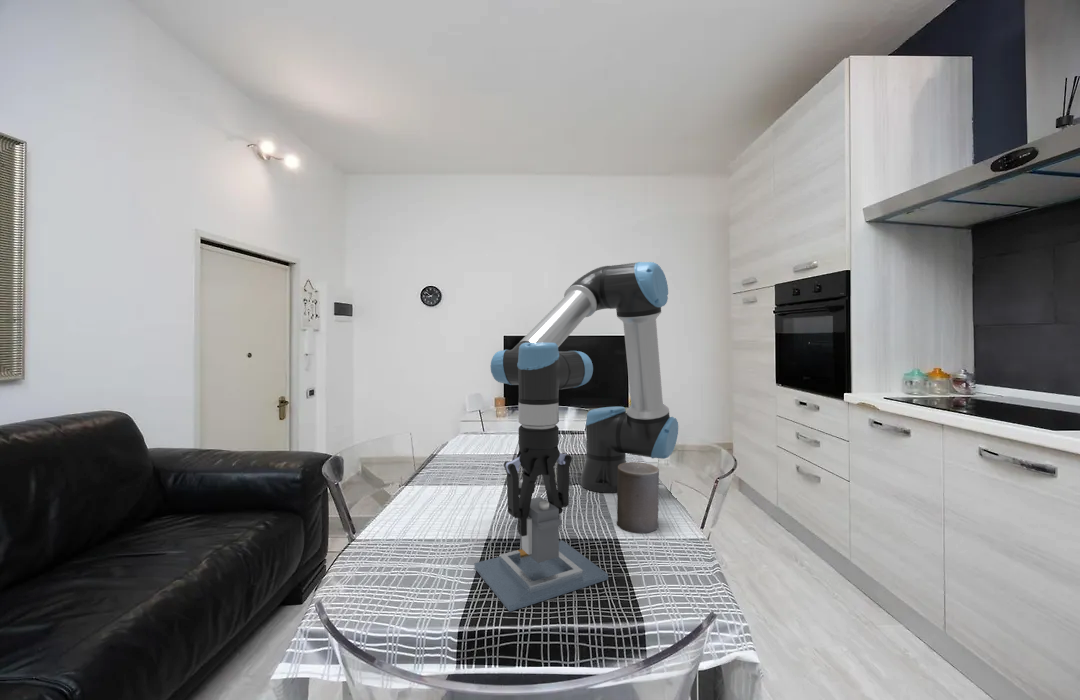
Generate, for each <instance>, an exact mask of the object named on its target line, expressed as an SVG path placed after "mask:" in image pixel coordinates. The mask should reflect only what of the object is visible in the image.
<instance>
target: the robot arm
mask: <svg viewBox="0 0 1080 700" xmlns="http://www.w3.org/2000/svg"><path fill="white" fill-rule="evenodd" d="M668 295H669V287H668V281H667V277H666V275H665V273H664V270H663V269H662V268H661V265H659V264H658V263H656V262H654V261H653V262H652V261H643V262H642V261H638V262H629V263H623V264H622V263H621V264H615V265H613V264H612V265H605V266H600V267H597V268H594V269H592V270H590V271H588V272H586V273H585V274H584V275H582V276H581V277H580V278H577V280H575V281H574V282H573V283H572V284H571V285H570V286H568V288H566V290H565V291H564V295H563V298H562V299H561V300H560V301H559V302H558V303H557V304H556V305H555V306H554V307H553V308H552V309H551V310H550V311H549V312H548V313H547V314H546V315H545V316H544V317H543V318H542V319H541V320H540V321H539V322H538V323H537V324H536V325H535V326H534V327H533V328H532V329H531V330H529V332H528V333H527V334H526V335H525V336H524V337H523V338H522V339H521V340H520V341H519V342H518V343H517V344H516V345H515V346H514V347H513V348H512V349H504V350H499V351H497V352H495V353H494V354H493V356H492V358H491V361H490V373H491V375H492V377H493V379H494V380H495V381H496V382H498V383H500V384H507V385H510V386H518V423H519V424H520V426H519V427H518V453H517V455H516V458H514V459H512V460H511V461H508V460H506V461H505V462H504V463H503V467H504V470H505V472H506V484H507V485H506V489H507V490H506V491H507V495H506V496H507V497H506V498H507V513H508V514H509V515H511V516H512V517H513V518H515V519H517V532H518V534H519V535H521V536H522V548H521V549H523V550H524V551H525V552H526V553H527V554H528V555H530V554H532V519H531V518H530V517H529V516H528V514H529V509H530V504H531V499H532V497H533V494H534V493H533V488H534V484H535V483H536V482H537V479H538V477H539V476H542V480H543V484H544V488H545V492H546V499H547V501H548V502H549V503H551V504H552V505H554V506H555V507H557V508H558V509H559V515H560V514H562V513H563V512H564V511H563V510H564V509H563V508H568V506H569V504H570V467H571V464H572V460H573V457H572V456H571V455H569V454H567V453H564V452H560V449H559V447H558V445H559V443H560V440H559V439H560V435H559V434H560V433H559V431H560V429H559V426H558V425H557V424H559V422H560V420H559V419H560V416H559V415H560V414H559V413H560V412H559V409H560V408H559V407H560V405H559V390H566V389H576V388H579V387H581V386H583V385H586V384H587V383H589V382H590V380H591V379H592V376H593V372H594V365H593V363H592V362H593V361H592V359H591V358H590V357H589V355H588V354H586V353H585V352H582V351H579V350H578V351H577V350H568V351H567V350H566V351H563V350H562V351H561V350H560V351H559V347H560V346H561V345H562V344H563V343H564V342H565V340H566V339H567V338H568V337H569V336H570V335H571V333H573V332H574V330H575V329H576V328H577V327H578V326H579V324H581V322H582V321H583V320H584V319H585V318H588V317H591V316H593V314H594V313H596V312H597V311H601V310H606V309H607V310H608V309H609V310H612V309H613V310H614V309H616V317H617V319H619V320H620V321H621V322H622V323H623V333H624V344H625V354H626V363H627V366H626V367H627V376H628V383H629V394H630V396H629V397H630V406H629V407H628V408H627V409H626V407H624V406H606V407H599V408H594V409H591V410H589V411H588V412H587V414H586V419H585V430H586V431H585V433H586V435H585V440H586V443H585V445H586V446H585V447H586V450H585V451H586V455H585V456H586V459H585V462H584V465H583V469H582V473H581V475H580V485H581V487H583V488H584V489H586V490H589V491H593V492H597V493H604V494H605V493H608V494H609V493H617V478H618V466H619V465H620V464H622V463H627V458H626V455H633V456H639V457H645V458H651V459H661V460H664V459H668V458H669V457H670V456H671V455H672V454H673V451H674V449H675V447H676V444H677V439H678V435H679V422H678V419H677V418H676V417H674V416H670V408H669V407H668V406H667V405H666V404H665V403H664V402H663V390H662V389H663V388H662V379H661V366H660V365H661V363H660V352H659V341H658V340H659V339H658V328H657V318H658V317H659V316H660V315H661V313H662V307H665V306H666V305H667V302H668V299H669V298H668ZM556 464H557V466H556V467H557V468H556V469H557V471H556V473H555V468H554V466H555V465H556ZM520 466H521V468H522V469H523V470H522V475H521V477H522V479H523V481H522V486H521V492H520V495H519V480H520V479H519V478H520V477H519V471H520ZM556 474H557V476H556Z"/></svg>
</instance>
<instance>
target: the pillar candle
mask: <svg viewBox="0 0 1080 700" xmlns="http://www.w3.org/2000/svg"><path fill="white" fill-rule="evenodd" d="M659 476H660V469H659V468H658V466H656V465H654V464H651V463H645V462H638V461H629V462H628V461H626V463H622V464H620V465H619V466H618V478H617V492H616V493H617V494H616V495H617V497H616V498H617V499H616V500H617V502H616V503H617V506H616V507H617V508H616V510H617V511H616V513H617V517H616V525H617V527H619V528H620V529H622V530H624V531H627V532H630V533H634V534H649V533H653V532H654V531H656V530H657V529H658V528H659V488H660V487H659V483H660V482H659V481H660V480H659V479H660V477H659Z"/></svg>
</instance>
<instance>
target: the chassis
mask: <svg viewBox="0 0 1080 700" xmlns="http://www.w3.org/2000/svg"><path fill="white" fill-rule="evenodd" d="M473 568H474V569H475V571H476V572H477V573H478V574H479V576H480V577H481V578H482V580H483V581H484V582H485V584H486V585H487V586H488V587H489V589H490V590H491V591H492V593H494V595H495V596H496V597H497V599H499V601H500V602H501V603H502V605H503V606H504V607H505V608H506V610H507V611H508V612H509V613H511V612H513V611H517V610H520V609H523V608H526V607H530V606H533V605H535V604H538V603H541V602H544V601H546V600H547V601H548V600H550V599H551V600H552V599H554V598H556V597H559V596H562V595H565V594H568V593H572V592H574V591H578V590H581V589H583V588H587V587H590V586H593V585H596V584H599V583H602V582H605V581H608V580H609V574H608V573H607V572H606V571H604V570H603V569H602V568H601V567H599V566H598V565H596V564H595V563H594V562H592V561H591V560H590V559H589V558H587V556H584V555H583V554H582V553H580V552H579V551H578V550H576V549H575V548H574V547H572V545H570V544H568V543H567V542H565V541H564V540H563V539H562V540H559V557H557V558H554V559H550V560H546V561H543V562H539V563H537V562H536V561H535V560H534V559H533V558H532V557H531V556H530V555H528V554H527V553H526V552H525V551H524V550H523V549H522V548H520V549H517V550H513V551H509V552H505V553H501V554H499V555H498V557H497V556H496V557H493V558H489V559H486V560H481V561H479V562H475V563H474V567H473Z"/></svg>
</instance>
